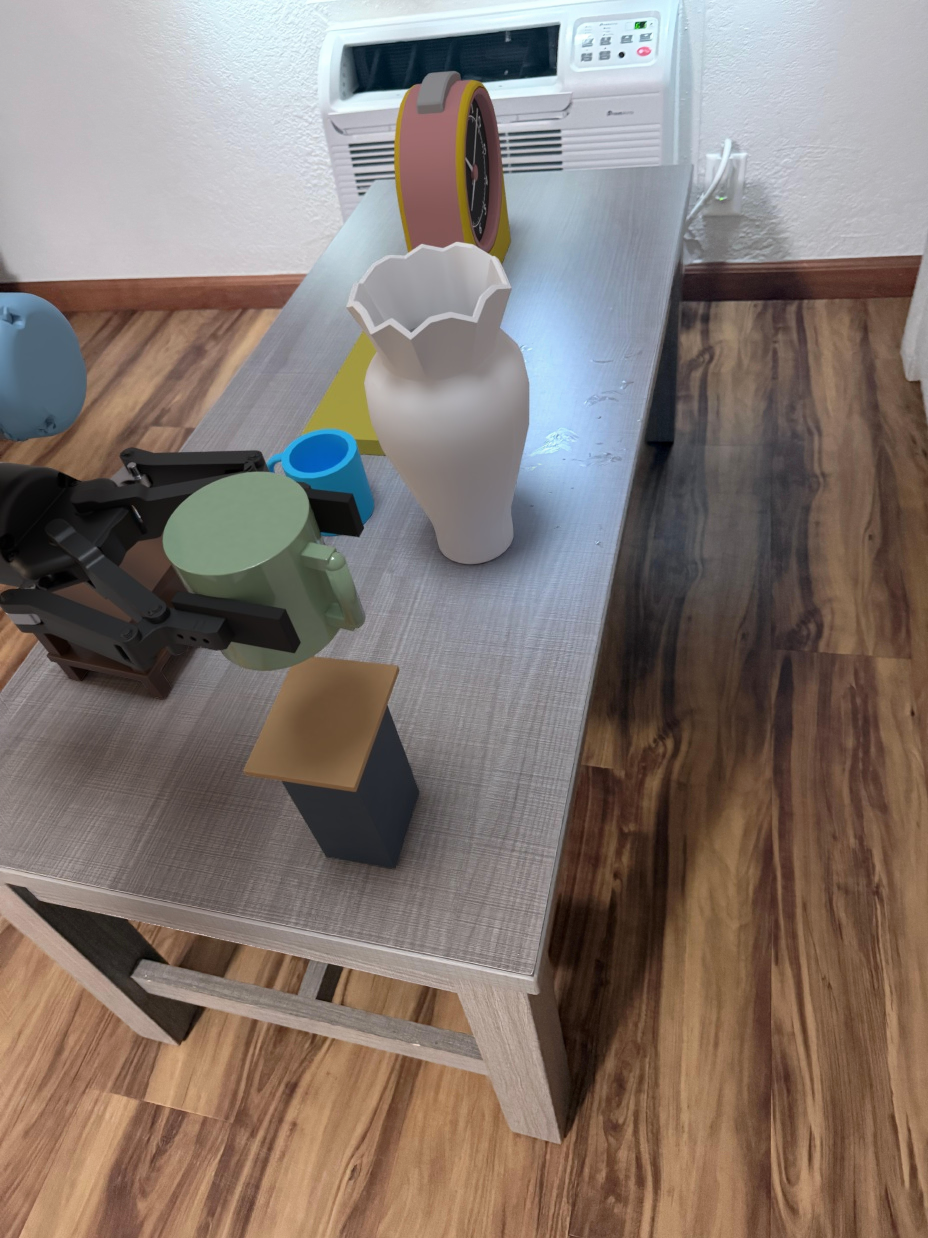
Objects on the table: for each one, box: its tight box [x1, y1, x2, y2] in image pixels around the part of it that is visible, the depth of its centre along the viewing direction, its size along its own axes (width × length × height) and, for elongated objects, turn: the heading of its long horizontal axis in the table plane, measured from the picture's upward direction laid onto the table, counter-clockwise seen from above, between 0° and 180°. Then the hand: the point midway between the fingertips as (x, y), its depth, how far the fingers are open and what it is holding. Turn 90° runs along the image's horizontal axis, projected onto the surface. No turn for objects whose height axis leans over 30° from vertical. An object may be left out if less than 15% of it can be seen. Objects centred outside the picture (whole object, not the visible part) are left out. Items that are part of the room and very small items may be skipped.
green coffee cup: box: [163, 472, 367, 672], centre depth 50 cm, size 10×8×8 cm
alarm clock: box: [393, 70, 512, 266], centre depth 119 cm, size 21×9×26 cm, turn 167°
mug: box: [266, 429, 375, 537], centre depth 96 cm, size 12×8×8 cm
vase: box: [345, 242, 530, 565], centre depth 82 cm, size 15×15×29 cm
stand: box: [243, 655, 420, 870], centre depth 67 cm, size 10×8×16 cm
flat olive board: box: [300, 330, 386, 456], centre depth 112 cm, size 12×2×24 cm
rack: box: [32, 517, 187, 700], centre depth 87 cm, size 14×12×10 cm
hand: (324, 570), depth 48 cm, fingers closed on green coffee cup, 8 cm apart
